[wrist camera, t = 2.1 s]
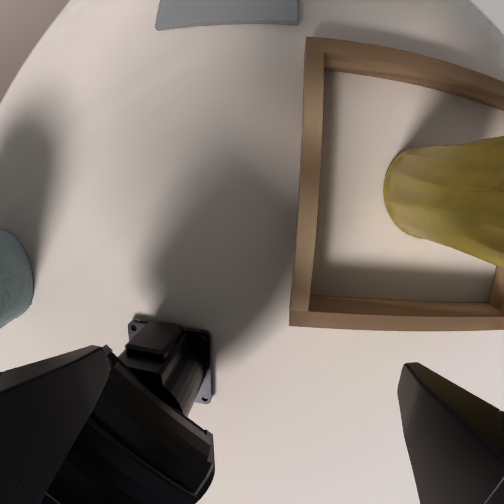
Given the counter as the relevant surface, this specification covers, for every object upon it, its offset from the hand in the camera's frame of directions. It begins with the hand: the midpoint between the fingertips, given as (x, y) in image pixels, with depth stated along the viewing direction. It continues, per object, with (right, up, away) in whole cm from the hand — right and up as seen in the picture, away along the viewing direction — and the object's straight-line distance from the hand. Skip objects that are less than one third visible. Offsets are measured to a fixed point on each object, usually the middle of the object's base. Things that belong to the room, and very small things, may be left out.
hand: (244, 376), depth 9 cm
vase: (+12, +7, +11) cm, 17 cm away
